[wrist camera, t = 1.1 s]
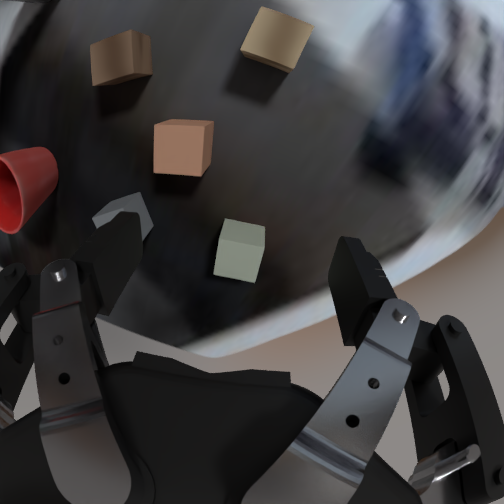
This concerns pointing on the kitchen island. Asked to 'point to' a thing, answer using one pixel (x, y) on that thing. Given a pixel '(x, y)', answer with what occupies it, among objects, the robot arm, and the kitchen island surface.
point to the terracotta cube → (183, 146)
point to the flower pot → (24, 185)
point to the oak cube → (276, 39)
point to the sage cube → (240, 250)
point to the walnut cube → (121, 58)
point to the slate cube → (130, 205)
